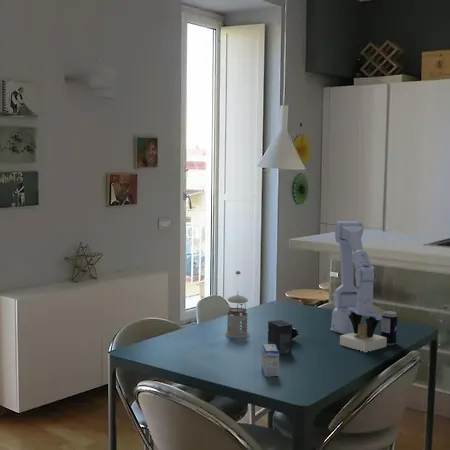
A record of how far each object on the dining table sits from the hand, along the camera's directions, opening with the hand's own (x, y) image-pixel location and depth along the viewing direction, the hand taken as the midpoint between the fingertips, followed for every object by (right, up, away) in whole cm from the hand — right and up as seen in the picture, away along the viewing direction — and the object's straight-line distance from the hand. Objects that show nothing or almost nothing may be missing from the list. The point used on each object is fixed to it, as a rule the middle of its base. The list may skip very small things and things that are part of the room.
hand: (363, 335), depth 259 cm
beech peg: (0, -4, +1) cm, 4 cm away
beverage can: (+10, -4, +4) cm, 11 cm away
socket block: (0, -4, 0) cm, 4 cm away
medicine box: (-37, -8, -32) cm, 49 cm away
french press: (-46, -2, +15) cm, 48 cm away
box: (-32, -5, -8) cm, 33 cm away
